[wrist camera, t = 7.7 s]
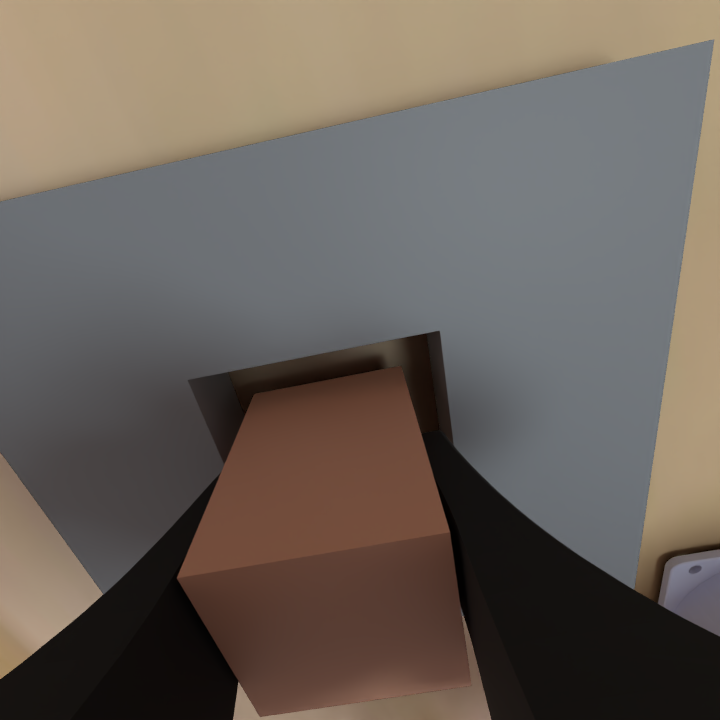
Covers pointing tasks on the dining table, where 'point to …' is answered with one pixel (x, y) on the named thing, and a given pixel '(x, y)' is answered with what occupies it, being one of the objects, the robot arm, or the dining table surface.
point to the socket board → (366, 300)
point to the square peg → (329, 551)
